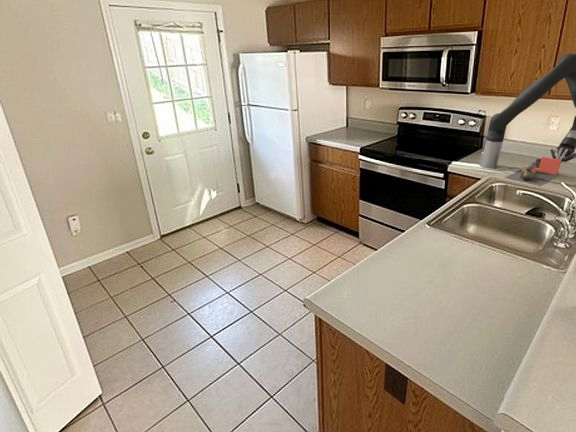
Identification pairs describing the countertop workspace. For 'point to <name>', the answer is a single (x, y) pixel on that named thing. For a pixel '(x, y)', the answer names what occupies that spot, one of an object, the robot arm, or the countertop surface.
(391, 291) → the countertop surface
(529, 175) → the valve body
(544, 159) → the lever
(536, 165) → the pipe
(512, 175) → the mat
